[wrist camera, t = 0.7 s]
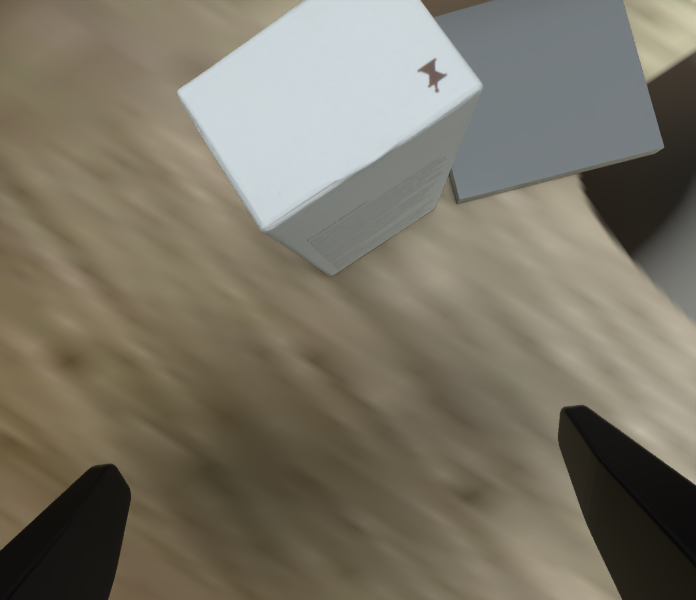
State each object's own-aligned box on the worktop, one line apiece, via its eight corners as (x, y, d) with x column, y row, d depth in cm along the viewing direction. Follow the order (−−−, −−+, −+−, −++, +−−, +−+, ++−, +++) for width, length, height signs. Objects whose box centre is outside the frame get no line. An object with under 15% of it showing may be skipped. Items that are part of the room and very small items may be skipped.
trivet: (653, 153, 22) (693, 129, 19) (457, 203, 22) (467, 187, 20) (596, -54, 22) (625, -107, 20) (405, 1, 23) (407, -43, 20)
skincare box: (386, 134, 23) (388, -67, 11) (437, 209, 23) (495, 86, 11) (279, 206, 23) (166, 86, 11) (328, 280, 23) (264, 240, 11)
